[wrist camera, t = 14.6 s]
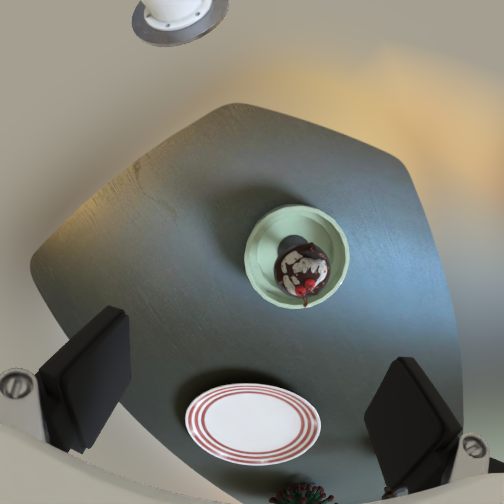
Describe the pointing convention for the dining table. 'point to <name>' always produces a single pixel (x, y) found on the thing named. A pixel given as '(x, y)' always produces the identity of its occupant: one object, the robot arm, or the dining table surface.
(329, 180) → the dining table surface
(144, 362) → the dining table surface
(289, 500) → the virus model
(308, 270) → the sundae
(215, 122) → the dining table surface
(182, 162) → the dining table surface
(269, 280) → the bowl
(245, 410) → the dinner plate
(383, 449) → the robot arm
